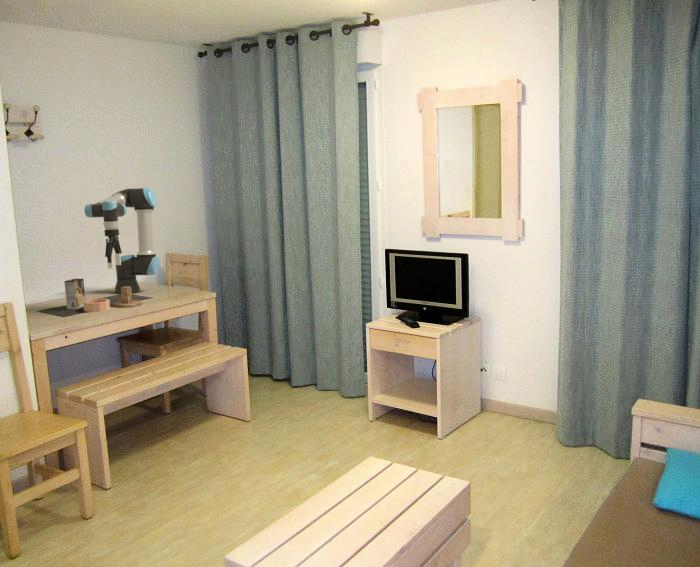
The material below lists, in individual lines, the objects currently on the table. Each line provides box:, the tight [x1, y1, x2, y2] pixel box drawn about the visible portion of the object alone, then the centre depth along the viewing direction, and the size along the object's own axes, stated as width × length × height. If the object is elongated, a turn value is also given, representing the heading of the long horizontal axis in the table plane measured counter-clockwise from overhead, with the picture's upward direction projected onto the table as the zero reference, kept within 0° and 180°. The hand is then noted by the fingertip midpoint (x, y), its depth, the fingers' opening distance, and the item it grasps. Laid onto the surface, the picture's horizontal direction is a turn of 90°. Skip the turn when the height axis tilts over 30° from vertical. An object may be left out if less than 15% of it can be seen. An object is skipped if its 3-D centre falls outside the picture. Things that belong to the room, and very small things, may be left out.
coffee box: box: [64, 278, 87, 310], centre depth 386 cm, size 9×6×16 cm
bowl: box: [83, 298, 111, 313], centre depth 380 cm, size 13×13×5 cm
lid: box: [111, 286, 143, 308], centre depth 390 cm, size 16×16×10 cm
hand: (114, 266), depth 385 cm, fingers open, 13 cm apart
